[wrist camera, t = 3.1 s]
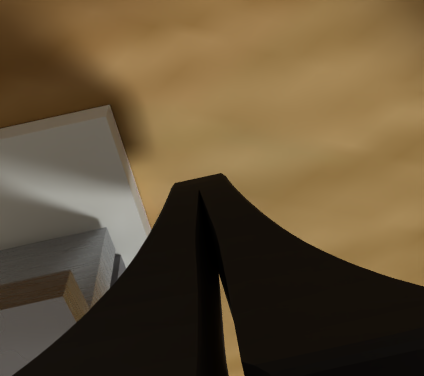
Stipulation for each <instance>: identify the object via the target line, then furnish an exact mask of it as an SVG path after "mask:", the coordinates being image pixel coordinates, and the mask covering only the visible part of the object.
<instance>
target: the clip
mask: <svg viewBox="0 0 424 376" xmlns="http://www.w3.org/2000/svg"><path fill="white" fill-rule="evenodd" d="M115 251H116V250H115V247H114V245H113V242H112V240H111V237H110V235H109V232H108V230H107V227H104V228H100V229H95V230H91V231H86V232H82V233H77V234H73V235H68V236H64V237H59V238H55V239H50V240H45V241H41V242H36V243H32V244H27V245H23V246H18V247H14V248H9V249H5V250H0V376H12V375H13V374H15V373H16V372H17V371H19V370H20V369H21V368H23V367H24V366H25V365H27V364H28V363H29V362H30V361H32V360H33V359H34V358H36V357H37V356H38V355H39V354H41V353H42V352H43V351H44V350H46V349H47V348H48V347H49V346H50V345H52V344H53V343H54V342H55V341H56V340H57V339H58V338H60V337H61V336H62V335H63V334H64V333H65V332H66V331H68V330H69V329H70V328H71V327H72V326H73V325H74V324H75V323H76V322H77V321H78V320H79V319H81V318H82V317H83V316H84V315H85V314H86V313H87V312H88V311H89V310H90V309H91V308H92V307H93V305H94V304H95V303H96V302H97V301H98V300H99V299H100V298H101V297H102V296H103V295H104V294H105V293H106V292H107V291H108V290H109V288H110V283H111V277H112V270H113V264H114V257H115Z"/></svg>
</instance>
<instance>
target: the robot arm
mask: <svg viewBox="0 0 424 376" xmlns="http://www.w3.org/2000/svg"><path fill="white" fill-rule="evenodd" d="M219 275H220V278H221V282H222V285H223V288H224V291H225V295H226V298H227V301H228V304H229V307H230V311H231V314H232V317H233V320H234V324H235V330H236V335H237V341H238V346H239V351H240V357H241V362H242V367H243V371H244V375H245V376H424V287H423V286H420V285H416V284H412V283H409V282H405V281H402V280H398V279H394V278H391V277H388V276H385V275H382V274H379V273H376V272H373V271H371V270H368V269H365V268H362V267H359V266H357V265H354V264H352V263H349V262H347V261H344V260H342V259H339V258H337V257H335V256H333V255H331V254H328V253H326V252H324V251H322V250H320V249H318V248H316V247H314V246H312V245H310V244H308V243H306V242H304V241H302V240H301V239H299V238H297V237H296V236H294V235H292V234H291V233H289V232H288V231H286V230H285V229H283V228H282V227H280V226H279V225H278V224H276V223H275V222H274V221H272V220H271V219H269V218H268V217H267V216H266V215H264V214H263V213H262V212H261V211H259V210H258V209H257V208H256V207H255V206H254V205H252V204H251V203H250V202H249V201H248V200H247V199H246V198H245V197H244V196H243V195H242V194H241V193H240V192H239V191H238V190H237V189H236V188H235V187H234V186H233V185H232V184H231V183H230V181H229V180H228V179H227V177H226V176H225V175H223V174H222V173H219V174H215V175H210V176H206V177H201V178H197V179H192V180H187V181H183V182H178V183H175V184H174V185H173V187H172V188H171V191H170V193H169V196H168V198H167V200H166V202H165V205H164V207H163V209H162V211H161V213H160V215H159V217H158V219H157V221H156V222H155V224H154V226H153V228H152V230H151V232H150V233H149V235H148V237H147V238H146V240H145V241H144V243H143V245H142V246H141V248H140V249H139V251H138V253H137V254H136V256H135V257H134V258H133V260H132V261H131V263H130V264H129V265H128V267H127V268H126V269H125V271H124V272H123V273H122V275H121V276H120V277H119V278H118V280H117V281H116V282H115V283H114V284H113V285H112V286H111V287H110V288H109V290H108V291H107V292H106V293H105V294H104V295H103V296H102V297H101V298H100V299H99V300H98V301H97V302H96V303H95V304H94V305H93V307H92V308H91V309H90V310H89V311H88V312H87V313H86V314H85V315H84V316H83V317H82V318H81V319H79V320H78V321H77V322H76V323H75V324H74V325H73V326H72V327H71V328H70V329H69V330H68V331H66V332H65V333H64V334H63V335H62V336H61V337H60V338H58V339H57V340H56V341H55V342H54V343H53V344H52V345H50V346H49V347H48V348H47V349H46V350H44V351H43V352H42V353H41V354H39V355H38V356H37V357H36V358H34V359H33V360H32V361H30V362H29V363H28V364H27V365H25V366H24V367H23V368H21V369H20V370H19V371H17V372H16V373H15V374H13V375H12V376H229V375H228V369H227V363H226V355H225V346H224V334H223V321H222V308H221V296H220V283H219Z"/></svg>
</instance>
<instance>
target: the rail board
mask: <svg viewBox="0 0 424 376" xmlns="http://www.w3.org/2000/svg"><path fill="white" fill-rule="evenodd" d="M104 227H107V230H108V232H109V235H110V237H111V240H112V242H113V245H114V247H115V250H116V251H115V257H114V264H113V270H112V277H111V283H110V287H111V286H112V285H113V284H114V283H115V282H116V281H117V280H118V278H119V277H120V276H121V275H122V273H123V272H124V271H125V269H126V268H127V267H128V265H129V264H130V263H131V261H132V260H133V258H134V257H135V256H136V254H137V253H138V251H139V249H140V248H141V246H142V245H143V243H144V241H145V240H146V238H147V237H148V235H149V233H150V232H151V228H150V225H149V222H148V219H147V216H146V212H145V209H144V206H143V203H142V200H141V197H140V194H139V191H138V188H137V185H136V182H135V179H134V176H133V173H132V170H131V167H130V164H129V161H128V158H127V155H126V152H125V149H124V146H123V143H122V140H121V137H120V134H119V131H118V128H117V125H116V122H115V119H114V116H113V113H112V110H111V107H110V105H106V106H101V107H97V108H92V109H87V110H83V111H78V112H74V113H69V114H65V115H60V116H56V117H51V118H46V119H42V120H37V121H33V122H28V123H24V124H19V125H15V126H10V127H5V128H1V129H0V250H5V249H9V248H14V247H18V246H23V245H27V244H32V243H36V242H41V241H45V240H50V239H55V238H59V237H64V236H68V235H73V234H77V233H82V232H86V231H91V230H95V229H100V228H104Z"/></svg>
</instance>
